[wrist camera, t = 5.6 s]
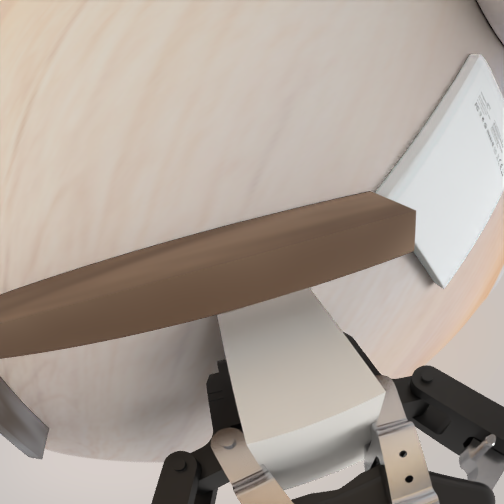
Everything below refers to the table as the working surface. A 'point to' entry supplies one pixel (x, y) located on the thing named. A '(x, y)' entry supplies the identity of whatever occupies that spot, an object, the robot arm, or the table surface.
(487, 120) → the external hard drive
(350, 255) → the guide fence
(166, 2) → the table surface
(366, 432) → the block
